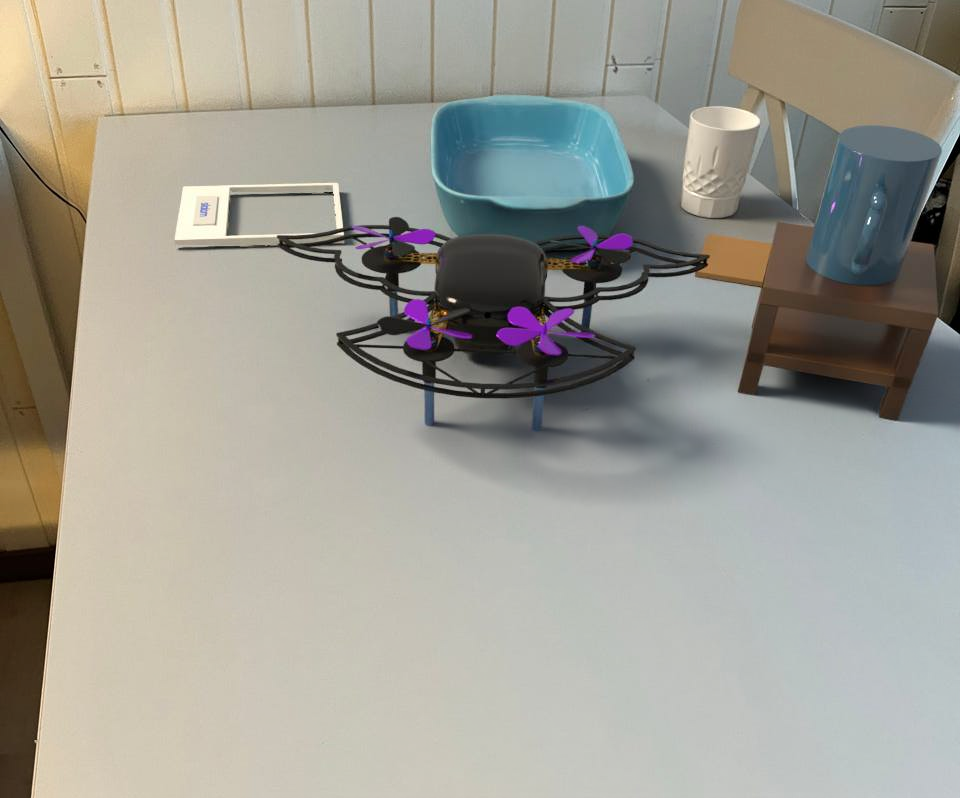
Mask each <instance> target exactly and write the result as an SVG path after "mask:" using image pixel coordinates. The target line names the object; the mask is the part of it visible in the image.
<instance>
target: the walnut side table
mask: <svg viewBox="0 0 960 798" xmlns="http://www.w3.org/2000/svg"><path fill="white" fill-rule="evenodd" d="M813 228H814V226H810V225H804V224H797V223H796V224H795V223H789V222H782V221H777V222H776V225H775V229H774V234H773V237H772V242H771V243H772V246H771V250H770V254H769V258H768V262H767V266H766V270H765V274H764V278H763V282H762V287H760V291H759V294H758V299H757V303H756V306H755V307H756V308H755V310H754V311H755V312H754V315H753V320H752V324H751V333H750V337H749V342H748V345H747V346H748V347H747V351H746V356H745V359H744V362H743V363H744V364H743V366H742V372H741V376H740V379H739V384H738V389H737V393H741V394H746V395H752V396H755V395H756V394H757V391H758V387H759V384H760V379H761V375H762V372H763V367H765V366H766V367H770V368H771V367H772V368H777V369H783V370H788V371H793V372H801V373H805V374H812V375H816V376H824V377H829V378H835V379H840V380H841V379H842V380H845V381H853V382H856V383H857V382H858V383H862V384H864V383H865V384H869V385H875V386H881V387H886V388H885V391H884V394H883V396H882V398H881V402H880V404H879V407H878V418H880V419H887V420H892V421H898V420H899V418H900V415H901V412H902V410H903V407H904V405H905V402H906V399H907V397H908V395H909V394H908V393H909V391H910V389H911V387H912V384H913V381H914V378H915V376H916V373H917V371H918V368H919V366H920V364H921V361H922V358H923V355H924V353H925V350H926V347H927V345H928V342H929V339H930V337H931V334H932V331H933V329H934V326H935V324H936V322H937V319H938V317H939V308H938V307H939V306H938V305H939V304H938V291H937V274H936V273H937V272H936V259H935V257H936V256H935V244H934V243H933V244H932V243H927V242H926V243H925V242H920V241H919V242H917V241H912V240H911V243H910V246H909V248H908V251H907V254H906V257H905V260H904V263H903V266H902V269H901V272H900V274H899V276H898V277H897V278H896V279H895V280H894V281H892V282H889V283H886V284H882V285H873V286H862V285H852V284H846V283H842V282H838V281H834V280H831V279H829V278H826V277H824V276H822V275H820V274H818V273H817V272H815V271H814V270H812V269H811V268H810V267H809V266H808V264H807V262H806V254H807V250H808V246H809V243H810V239H811V235H812V232H813Z"/></svg>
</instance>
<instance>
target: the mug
mask: <svg viewBox="0 0 960 798" xmlns="http://www.w3.org/2000/svg"><path fill="white" fill-rule="evenodd" d="M942 153H943V149H942V146H941V145H940V144H939V142H937V141H936V140H935V139H933V138H931V137H929V136H927V135H925V134H923V133H920V132H916V131H913V130H909V129H906V128H901V127H896V126H887V125H871V124H870V125H858V126H852V127H849V128H846V129H843V130H842V131H841V132H839V134H838V136H837V140H836V143H835V147H834V151H833V155H832V158H831V162H830V166H829V169H828V173H827V176H826V179H825V180H826V181H825V184H824V188H823V191H822V195H821V199H820V203H819V206H818V210H817V213H816V218H815V221H814V225H813V227H814V228H813V232H812V235H811V239H810V243H809V246H808V250H807V254H806V262H807V264H808V266H809V267H810V268H811V269H812V270H814V271H815V272H817V273H818V274H820V275H822V276H824V277H826V278H829V279H831V280H834V281H838V282H842V283H846V284H852V285H862V286H873V285H882V284H886V283H889V282H892V281H894V280H895V279H896V278H897V277H898V276H899V274H900V272H901V269H902V266H903V263H904V260H905V257H906V254H907V251H908V248H909V246H910V243H911V241H912V240H913V236H914V234H915V231H916V229H917V225H918V222H919V219H920V216H921V214H922V211H923V207H924V205H925V202H926V200H927V197H928V194H929V190H930V187H931V186H932V181H933V179H934V177H935V173H936V171H937V167H938V164H939V162H940V159H941V156H942Z"/></svg>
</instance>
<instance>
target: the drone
mask: <svg viewBox="0 0 960 798" xmlns="http://www.w3.org/2000/svg"><path fill="white" fill-rule="evenodd" d="M375 230H388V233H385V232H384V233H381V232H377V231H375ZM349 231H359V232H363V233H352V234H346V235H345V234H344V236H341V237H338V238H334V239H330V240H325V241H319V242H313V243H299V244H297V243H295V242H293V241H291V240H289V239H309V238H318V237H324V236H330V235H334V234H337V233H341V232H344V233H345V232H349ZM578 231H579V232H580V233H581V234H582V235H573V236H563V237H556V238H551V239H545V240H542V241H538V242H532V241H529V240H527V239H523V238H520V237H515V236H509V235H499V234H472V235H464V236H456V237H454V238H452V237H448V236H447V235H443V234H441V233H436V231H435V230H433V229H431V228H416V227H410V224H409V223H408V222H407V221H406V220H405V219H404V218H402V217H400V216H392V217H390V218H389V219H388V225H387V224H362V225H349V226H343V228H340V229H337V228H336V229H333V230H329V231H323V232H315V233H316V234H308V235H277V238H278V239H279V244H278V245H277V247H278V248H280V249H281V250H282V251H284V252H285V253H287V254H290V255H292V256H294V257H297V258H301V259H305V260H309V261H314V262H322V263H334V269H335V270H334V271H335V273H336V274H337V276H338V277H339V278H341V279H342V280H343V281H345V282H346V283H348V284H350V285H353V286H355V287H358V288H362V289H368V290H375V291H380V292H381V293H382V294H383V295H386V296H387V297H388V302H389V303H388V304H389V306H388V307H389V316H387V315H386V316H383V317H380V318H379V319H378V320H377V322H374V323H371V324H368V325H365V326H361V327H357V328H353V329H348V330H344V331H341V332H336V335H335V336H336V337H337V342H336V345H337V346H338V347H339V348H340V349H341V351H343V352H344V353H345V355H347V356H348V357H349V358H350V359H352V360H353V361H354V362H356V363H358V364H359V365H360V366H362V367H364V368H365V369H368V370H369V371H371V372H372V373H374V374H376V375H379V376H382V377H384V378H386V379H388V380H389V381H390V380H391V381H393V382H396V383H398V384H401V385H405V386H408V387H411V388H414V389H419V390H423V393H424V394H423V399H424V402H423V403H424V425H426V426H430V427H431V426H434V425H435V393H436V394H442V395H448V396H454V397H462V398H472V399H473V398H474V399H495V400H496V399H497V400H498V399H501V400H502V399H503V400H504V399H505V400H506V399H520V398H521V399H522V398H531V397H532V398H533V406H532V418H531V419H532V420H531V429H532V430H533V431H534V432H535V431H536V432H539V431H541V430H542V426H543V417H544V416H543V415H544V406H545V405H544V404H545V403H544V402H545V396H547V395H548V396H549V395H553V394H559V393H564V392H567V391H571V390H576V389H579V388H582V387H585V386H589V385H591V384H594V383H597V382H598V381H601V380H603V379H605V378H608V377H610V376H612V375H613V374H615V373H617V372H618V371H620V370H622V369H624V368H625V367H627V365H629V364H630V363H631V362H633V361H634V360H635V359H636V356H635V352H636V351H637V347H636V346H634V345H631V344H628V343H625V342H622V341H618V340H616V339H613V338H611V337H608V336H606V335H603V334H601V333H598V332H596V331H595V330H592V329H590V328H591V317H592V309H593V305H595V304H597V303H598V302H599V301H615V300H623V299H626V298H631V297H632V296H636V295H637V294H639V293H641V292H642V291H643V290H644V289H646V288H647V285H648V283H649V278H673V277H674V278H675V277H681V276H686V275H690V274H695V272H697V271H699V270H702V269H704V268H705V267H707V266H708V263H707V259H708V258H709V257H710V255H705V254H701V253H691V252H685V251H679V250H675V249H669V248H665V247H662V246H659V245H656V244H653V243H650V242H648V241H645V240H643V239H638V238H633V237H632V236H631V235H629V234H627V233H616V234H614V235H597V234H596V233H595V232H594V231H593V230H591V229H589V228H587V227H585V226H579V227H578ZM363 238H385V239H384V240H379V241H375V242H374V241H373V242H369V243H367V242H366V241H364V240H361V239H363ZM351 239H352V240H354V241H356V242H358V243H360V245H357V246H355V247H354V248H355V250H365V249H367V250H366V251H364V252H363V254H362V255H361V263H362V265H363V266H364V267H365V268H366V269H368V270H370V271H372V272H375V273H378V274H379V273H380V274H385V276H373V275H367V274H363V273H360V272H357V271H354V270H352V269H350V268H348V266H346V265H344V263H343V258H341V255H342V253H343V251H342V250H341V249H327V248H318V247H320V246H325V245H331V244H332V243H334V244H336V243H335V242H339V241H343V240H344V241H346V240H351ZM434 239H439V240H442V241H445V242H439V241H436V240H434ZM575 239H586V240H587V242H588V243H575V244H572V243H568V242H563V241H565V240H575ZM597 239H603V240H604V241H603V240H602V241H601V242H598V243H596V241H597ZM283 242H284V243H285V244H283ZM386 242H388V244H386V245H380V244H384V243H386ZM548 243H556V244H562V245H557V246H551V247H546V248H541V247H540V245H544V244H548ZM414 244H416V245H427V244H428V245H432V246H434V247H438V250H437V252H419V251H418V250H416V247H415V245H414ZM633 244H637V245H641V246H644V247H646V248H649V249H652V250H654V251H658V252H662V253H664V254H669V255H673V256H678V257H684V258H691V259H692V258H693V259H692V260H681V259H675V258H672V257H667V256H664V255H661V254H660V255H659V254H657V253H654V252H651V251H649V250H646V249H643V248H640V247H637V246H633ZM378 245H380V246H378ZM576 247H586V248H585V249H589V250H587V251H584V252H583V253H581V254H575V255H572V256H569V257H567V258H566V259H560V258H551V257H548V255H547V252H553V251H560V250H559V249H566V248H576ZM294 248H295V249H298V250H301V251H305V252H310V253H315V254H325V255H334V256H333V257H323V256H316V255H310V254H307V253H303V252H300V251H296V250H295V249H294ZM635 252H636V253H639V254H642V255H644V256H647V257H650V258H652V259H655V260H659V261H663V262H666V263H667V264H655V263H654V264H653V263H643V264H642V269H643V271H642V272H641V274H640V276H639V278H637V279H636V280H634V281H631V282H628V283H626V284H622V285H617V286H606V287H605V286H597V284H606V283H610V282H613V281H616V280H617V279H619V278H621V276H622V274H623V267H622V264H624V263H627V262H629V261H631V260H632V258H633V256H632V253H635ZM700 262H703V263H700ZM423 264H424V265H435V267H434V268H435V279H434V288H433V289H434V290H432V291H431V290H428V291H426V290H415V289H409V288H404V287H400V277H399V274H405V273H409V272H412V271H414V270H416V269H418V268H419V267H420V266H421V265H423ZM687 267H691V268H688V269H684V270H678V271H671V272H668V271H667V272H650V269H651V270H668V269H669V270H670V269H681V268H687ZM548 270H550V271H551V270H552V271H562V272H563V274H564V275H565V276H567V277H568V278H570V279H572V280H574V281H577V282H581V283H583V291H582V294H580V295H575V296H567V297H566V296H565V297H563V296H562V297H560V296H559V297H558V296H555V297H554V296H546V281H547V278H548V272H549V271H548ZM350 276H351V277H350ZM352 277H353V278H357V279H360V280H365V281H370V282H379V283H380V284H381V285H378V284H370V283H365V282H362V281H359V280H356V279H353V278H352ZM632 288H633V289H632ZM629 289H632V290H629ZM625 290H629V291H627V292H623V293H618V294H611V295H599V294H600V293H609V292H610V293H611V292H620V291H625ZM398 293H401V294H406V295H411V296H418V297H426V298H424V299H420V298H409V297H406V296H402V295H399V294H398ZM579 301H583V302H582V303H578V304H572V305H554V304H553V303H571V302H579ZM399 302H403V303H406V305H405V306H404V308H403V311H402V312H400V313H399ZM580 309H581V310H582V316H581V323H580V322H579V323H578V322H577V321H575V320H573V319H572V318H570V317H571V316H573V315H574V313H575V311H576V310H580ZM429 313H430V314H429ZM407 317H408V318H407ZM405 318H407V319H405ZM546 318H547V319H548V320H547V319H546ZM568 325H569V326H568ZM556 326H557V327H559V328H560V329H561V330H562V331H551V329H553V328H555V327H556ZM570 326H572V327H573V328H574V329H573V328H572V327H570ZM375 329H380V330H378V331H375V332H371V333H369V334H365V335H361V336H358V337H353V338H350V339H349V338H348V337H349V336H354V335H358V334H362V333H366V332H369V331H373V330H375ZM575 329H577V330H578V331H577V330H575ZM411 332H414V333H412V334H410V335H408V336H407V338H406V340H405V342H403V345H392V344H391V345H390V344H362V343H363V342H366V341H370V340H374V339H376V338H379V337H382V336H385V335H390V336H399V335H403V334H408V333H411ZM444 334H445V335H446V334H447V335H449V336H452V340H453V341H452V340H451V339H450V338H447V337H445V336H444ZM549 334H555V335H561V336H567V337H568V336H569V337H574V338H576V339H577V340H580V341H582V342H584V343H585V344H587V345H590V346H592V347H594V348H596V349H598V350H600V351H603V352H606V353H608V354H611V355H599V354H582V353H570V352H569V350H568V349H567V347H566V346H565V345H563V344H562V343H559V342H557V341H554V340H553V339H552V338H551V337H550V335H549ZM591 338H595V339H597V340H599V341H601V342H604V343H607V344H610V345H612V346H614V347H617V348H621V349H624V351H621V350H618V349H616V348H613V347H610V346H608V345H606V344H602V343H600V342H598V341H596V340H593V339H591ZM360 343H361V344H360ZM515 347H517V348H516V350H514V348H515ZM363 348H366V349H367V348H368V349H370V348H371V349H372V348H373V349H394V350H395V349H397V350H398V349H399V350H402V351H403V354H404V355H405V356H406V357H408V358H409V359H411V360H413V361H416V362H421V365H422V366H421V371H422V372H421V373H417V372H414V371H410V370H408V369H404V368H402V367H398V366H396V365H393V364H391V363H389V362H386V361H384V360H381V359H380V358H377V357H376V356H374V355H372V354H370V353H368V352H366V351H365V350H364V349H363ZM455 352H462V353H464V354H466V355H481V356H482V355H484V356H503V355H505V354H506V355H516V356H517V358H518V359H519V360H520V361H521V362H522V363H523V364H525V365H528V366H530V367H534V369H533V370H532V371H529V372H527V373H525V374H522V375H521V376H519V377H517V378H515V379H513V380H510V381H508V382H506V383H480V382H469V381H467V382H466V381H461V380H460V379H458V378H457V377H455V376H453V375H451V374H450V373H448V372H446V371H445V370H444V369H441V368H440V367H438V366H437V362H442V361H445V360H447V359H449V358H451V357H452V356H453V355H454V353H455ZM569 357H570V358H587V359H601V360H602V359H603V360H605V359H606V360H608V361H605V362H604V363H601V364H599V365H597V366H595V367H594V366H593V367H591V368H589V369H587V370H583V371H579V372H576V373H573V374H570V375H565V376H560V377H555V378H551V379H548V376H549V368H555V367H559V366H561V365H563V364H564V363H566V362H568V360H569ZM368 361H369V362H368ZM382 368H384V369H386V370H388V371H386V370H384V369H382ZM389 371H390V372H389ZM437 371H438V372H440V373H441V374H443V375H445V376H446V377H448V378H449V379H447V378H439V377H437ZM602 371H603V372H602ZM391 372H392V373H391ZM393 373H396V374H398V375H395V374H393ZM597 373H598V374H597ZM595 374H596V375H595ZM399 375H402V376H404V377H409V378H411V379H414V380H419V381H422V382H423V383H421V382H417V381H414V380H410V379H407V378H404V377H401V376H399ZM531 375H533V381H529V382H519V381H521V380H524V379H525V378H527V377H529V376H531ZM593 375H594V376H593ZM589 376H591V377H589ZM586 377H588V378H586ZM583 378H586V379H583ZM580 379H582V380H580ZM576 380H580V381H576ZM573 381H576V382H573ZM568 382H573V383H569V384H565V385H561V386H560V384H563V383H568ZM558 384H559V386H556V387H551V388H547V386H554V385H558ZM435 385H443V386H447V387H455V388H463V389H468V391H465V390H455V389H450V388H444V387H440V386H439V387H438V386H435ZM533 388H534V390H530V391H517V392H497V391H499V390H516V389H517V390H519V389H533ZM477 390H480V392H479V391H477ZM486 390H489V391H487V392H486Z"/></svg>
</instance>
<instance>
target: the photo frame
mask: <svg viewBox="0 0 960 798" xmlns="http://www.w3.org/2000/svg"><path fill="white" fill-rule="evenodd" d="M325 190H333V193H332V194H334V196H333V205H334V204H335V206H334V215H335V214H336V216H335V225H336V229H340V228H344V223H343V214H342V206H341V197H340V187H339V182H317V183H316V182H313V183H309V182H308V183H275V184H274V183H271V184H233V185H231V184H230V185H229V184H228V185H226V184H225V185H194V186H193V185H192V186H189V185H187V186H185V185H184V186H183V187H182V193H181V197H180V204H179V210H178V216H177V222H176V227H175V235H174V245H265V246H264V247H266V246H267V245H270V246H278V244H279V239H278V238H277V235H308V234H316V233H317V232H312V233H310V232H307V233H277V234H273V233H272V234H246V235H245V234H244V235H243V234H242V235H228V236H227V228H228V229H229V223H228V214H229V215H230V211H229V199H230V200H231V198H230V191H232V192H238V191H239V192H325ZM228 212H229V213H228ZM341 236H345V232H341V233H337V234H334V235H330V236H324V237H318V238H309V239H289V240H291V241H293V242H295V243H297V244H299V243H313V242H319V241H325V240H330V239H334V238H338V237H341ZM283 244H285V243H284V242H283ZM332 244H345V240H343V241H339V242H335V243H332ZM267 247H268V246H267Z"/></svg>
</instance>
